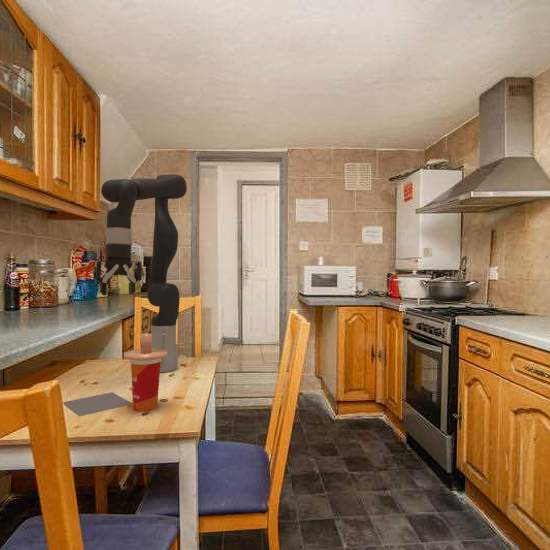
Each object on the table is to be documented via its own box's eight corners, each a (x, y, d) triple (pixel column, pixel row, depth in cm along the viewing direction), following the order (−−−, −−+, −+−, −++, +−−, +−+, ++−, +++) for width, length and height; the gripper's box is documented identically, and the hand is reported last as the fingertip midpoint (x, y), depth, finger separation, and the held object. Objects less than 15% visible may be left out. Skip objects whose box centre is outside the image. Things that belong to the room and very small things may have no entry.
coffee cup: (133, 406, 109) (134, 352, 109) (163, 405, 110) (164, 352, 110) (124, 417, 101) (125, 359, 101) (157, 416, 101) (158, 358, 101)
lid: (154, 349, 113) (154, 329, 113) (174, 356, 105) (175, 334, 105) (116, 355, 105) (117, 333, 105) (136, 362, 97) (136, 338, 97)
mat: (112, 395, 118) (112, 392, 118) (133, 407, 108) (133, 403, 108) (61, 406, 108) (61, 402, 108) (79, 420, 98) (79, 416, 98)
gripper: (135, 245, 130) (134, 293, 130) (90, 242, 120) (89, 294, 120) (145, 244, 125) (144, 294, 125) (100, 241, 115) (99, 296, 115)
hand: (117, 294), depth 123 cm, fingers open, 8 cm apart
